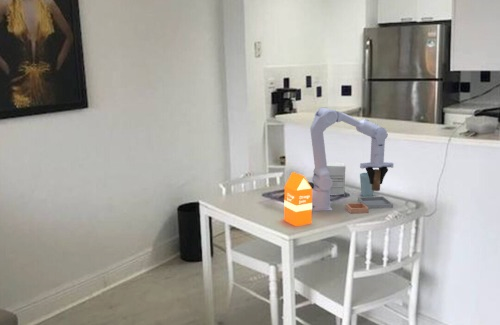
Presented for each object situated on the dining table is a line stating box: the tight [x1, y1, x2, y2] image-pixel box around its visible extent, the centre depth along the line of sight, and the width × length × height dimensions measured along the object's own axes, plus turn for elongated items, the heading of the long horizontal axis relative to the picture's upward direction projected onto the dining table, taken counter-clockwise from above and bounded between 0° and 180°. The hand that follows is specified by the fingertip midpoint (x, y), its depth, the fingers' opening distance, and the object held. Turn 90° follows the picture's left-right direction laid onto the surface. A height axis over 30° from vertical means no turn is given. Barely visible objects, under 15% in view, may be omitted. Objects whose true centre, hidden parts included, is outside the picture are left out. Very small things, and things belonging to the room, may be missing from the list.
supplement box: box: [326, 161, 346, 195], centre depth 251 cm, size 9×9×15 cm
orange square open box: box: [344, 202, 370, 214], centre depth 225 cm, size 8×8×3 cm
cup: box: [359, 172, 375, 197], centre depth 248 cm, size 8×8×10 cm
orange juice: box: [283, 171, 313, 227], centre depth 210 cm, size 8×9×20 cm
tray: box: [357, 196, 394, 209], centre depth 234 cm, size 12×12×2 cm
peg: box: [372, 168, 381, 192], centre depth 231 cm, size 4×4×9 cm
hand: (375, 183), depth 232 cm, fingers closed on peg, 4 cm apart
